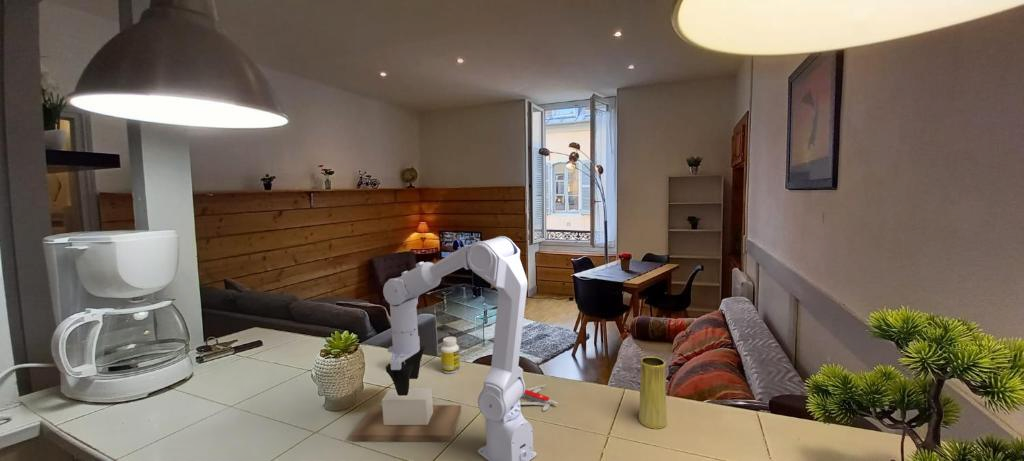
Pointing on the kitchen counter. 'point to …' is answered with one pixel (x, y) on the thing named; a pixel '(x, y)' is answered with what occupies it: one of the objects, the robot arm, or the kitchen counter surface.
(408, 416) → the block
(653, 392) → the vase
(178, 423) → the kitchen counter surface
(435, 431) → the pin board
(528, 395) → the swiss army knife
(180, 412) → the kitchen counter surface
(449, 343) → the supplement bottle
